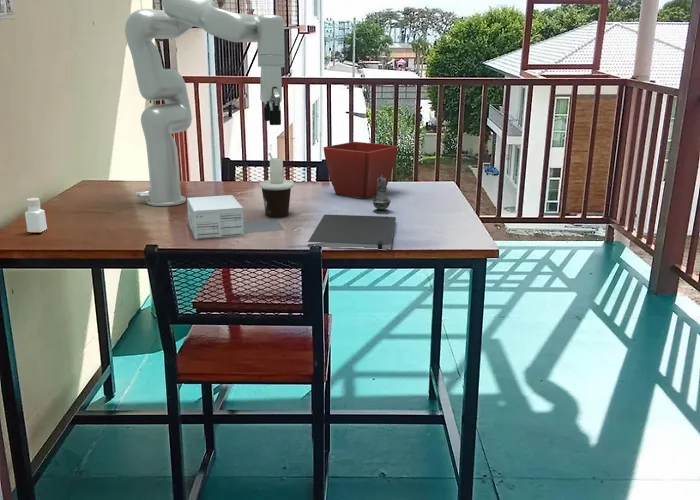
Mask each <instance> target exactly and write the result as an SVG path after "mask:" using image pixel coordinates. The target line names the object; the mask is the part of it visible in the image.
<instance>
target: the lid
mask: <svg viewBox="0 0 700 500" xmlns="http://www.w3.org/2000/svg"><path fill="white" fill-rule="evenodd" d="M283 161H284V159H283V158H282V157H281V158H280V157H278V158H277V157H275V158H270V159H269V179H266V180H262V181H260V182H259V187H260V189H262V188H264V189H271V190H281V189H288V188H291V189H292V188H293V187H294V186H295V184H294V183H295V182H294V181H292V180H289V179H284V163H283Z"/></svg>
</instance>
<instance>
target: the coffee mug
mask: <svg viewBox="0 0 700 500" xmlns="http://www.w3.org/2000/svg"><path fill="white" fill-rule="evenodd" d="M291 190H292V188H288V189H281V190H271V189H264V188H261V192H262V193H261V194H262V198H263V205H264V212H265V216H266V217H267V218H271V219H281V218H285V217H288V216H289V211H290V203H291V201H290V200H291Z"/></svg>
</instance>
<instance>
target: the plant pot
mask: <svg viewBox="0 0 700 500" xmlns="http://www.w3.org/2000/svg"><path fill="white" fill-rule="evenodd" d="M322 148H323V153H324V160H325V163H326V167H327V173H328V176H329V179H330V182H331V184H332V187H333V190H334V192H335V195H338V194H339V195H338V196H344V195H345V197H350V196H351V197H352V198H356V197H357V199H362V198H364V199H368V198H372V197H375V196H377V190H376V188H377V180H378V178H380V177H381V175H383V177H384V178H386V188H387V186H388V185H389V184H388V183H389V181H390V177H391V176H392V171H393V169H394V164H395V161H396V156H397V151H398V145H391V144H390V145H389V144H382V143H381V144H380V143H371V142H363V141H360V142H359V141H351V142H350V141H349V142H344V143H340V144H339V143H338V144H335V145H334V144H332V145H329V146H328V145H327V146H323V147H322ZM351 197H350V198H351Z"/></svg>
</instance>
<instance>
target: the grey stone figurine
mask: <svg viewBox="0 0 700 500" xmlns="http://www.w3.org/2000/svg"><path fill="white" fill-rule="evenodd" d="M376 190H377V195H376V197H375V199H372V200H371V202H372V205H373V207H374V208H375V209H373V210H372V213H374V214H379V215H385V214H389V213H390V212H391V211H390V210H389V209H388V208H389V207H390V203H391V199H389V198H388V197H387V191H388V188H387V187H386V178H384V177H383V175H381V177H380V178H378V180H377V188H376Z"/></svg>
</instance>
